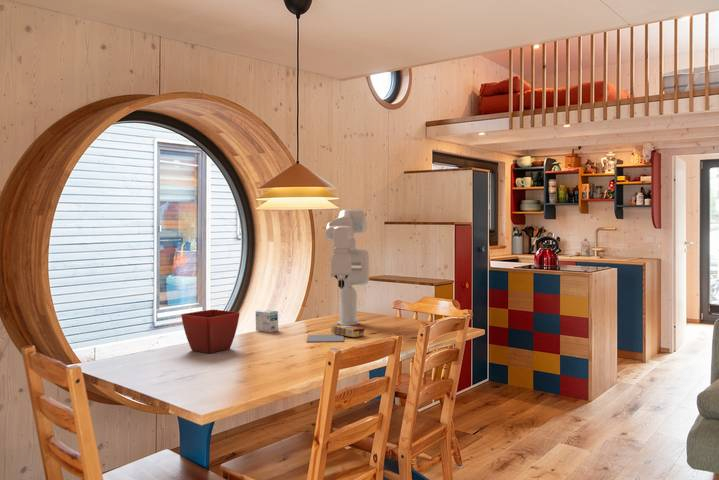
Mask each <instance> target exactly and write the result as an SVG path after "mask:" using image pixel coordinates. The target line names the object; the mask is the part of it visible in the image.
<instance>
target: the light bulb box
mask: <svg viewBox="0 0 719 480" xmlns="http://www.w3.org/2000/svg"><path fill="white" fill-rule="evenodd" d="M278 313H279V310H270V309H259V310H256V311H255V331H258V332H264V333H273V332H278V331H279V314H278Z"/></svg>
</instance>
